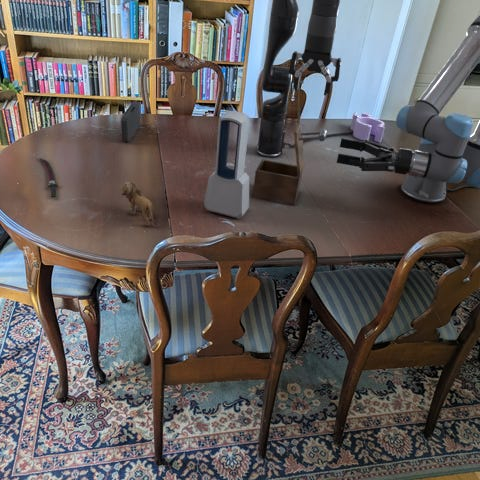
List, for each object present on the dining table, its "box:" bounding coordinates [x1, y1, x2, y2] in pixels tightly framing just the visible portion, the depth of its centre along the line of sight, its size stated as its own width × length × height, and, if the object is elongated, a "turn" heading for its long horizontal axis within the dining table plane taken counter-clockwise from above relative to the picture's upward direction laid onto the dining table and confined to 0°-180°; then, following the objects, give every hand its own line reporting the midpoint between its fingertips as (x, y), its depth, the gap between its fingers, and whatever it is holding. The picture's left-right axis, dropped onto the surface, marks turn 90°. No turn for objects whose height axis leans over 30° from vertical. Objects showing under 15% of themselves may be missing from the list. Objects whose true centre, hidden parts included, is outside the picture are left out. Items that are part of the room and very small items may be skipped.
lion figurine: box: [119, 181, 159, 227], centre depth 134 cm, size 15×5×9 cm, turn 50°
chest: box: [252, 158, 303, 206], centre depth 153 cm, size 14×10×10 cm
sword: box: [40, 158, 59, 198], centre depth 151 cm, size 31×3×1 cm, turn 26°
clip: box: [349, 112, 386, 144], centre depth 214 cm, size 20×12×7 cm, turn 11°
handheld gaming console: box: [120, 101, 141, 143], centre depth 188 cm, size 23×3×10 cm, turn 178°
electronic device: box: [203, 110, 251, 220], centre depth 135 cm, size 12×8×30 cm, turn 71°
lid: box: [293, 121, 328, 178], centre depth 145 cm, size 14×10×9 cm
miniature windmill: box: [285, 60, 305, 125], centre depth 208 cm, size 9×8×30 cm
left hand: (310, 92), depth 136 cm, fingers open, 8 cm apart
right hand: (338, 150), depth 143 cm, fingers open, 13 cm apart
